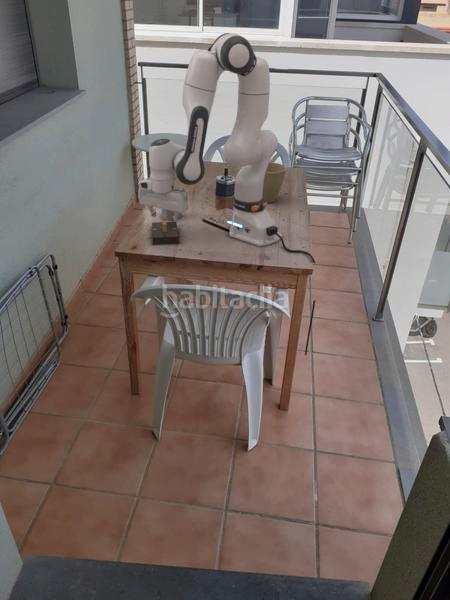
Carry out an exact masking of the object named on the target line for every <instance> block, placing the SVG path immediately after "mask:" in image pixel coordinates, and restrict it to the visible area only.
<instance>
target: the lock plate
mask: <svg viewBox="0 0 450 600" xmlns="http://www.w3.org/2000/svg"><path fill="white" fill-rule="evenodd" d="M166 226H167V232H163V221H158V222H157V221H156V222H151V241H152V245H173V244H174V245H175V244H180V242H179V239H180V238H179V231H178V223H177V221H176V222H173V221H166Z"/></svg>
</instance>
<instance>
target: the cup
mask: <svg viewBox="0 0 450 600" xmlns="http://www.w3.org/2000/svg"><path fill="white" fill-rule="evenodd" d="M174 215H175V214H174V211H169V210H165V209H161V219H166V221H172V217H173V216H174ZM180 218H182V213H179V214H178V216H177V220H179V219H180Z"/></svg>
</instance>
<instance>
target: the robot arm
mask: <svg viewBox="0 0 450 600" xmlns="http://www.w3.org/2000/svg"><path fill="white" fill-rule="evenodd" d="M186 69H187V70H186V73H185V78H184V81H183V86H182V87H183V88H182V106H183V109H184V113H185V115H186V119H187V135H186V140H185V141H186V142H185V145H184V146H183V145H180V144H177V143H175V142H173V141H172V140H171V139H170V138H159V139H156V140H154V141H152V142H151V143H150V145H149V150H148V166H149V169H150V174H149V177H146V178H143V179H142V180H140V181H139V182H138V187H139V188H138V193H137V194H138V196H137V197H138V202H139V204H140V205H143V206H147V209H148V211H149V213H150V217H153V218H155V217H157V211H155V209H154V208H156V209H160V210H162V209H165V210H169V211H174V214H175V215H174V216H173V217H172V220H171V222H177V221H178V219H177V216H178V214H179V213H181V214H185V213H186V212H187V211H188V210H189V203H188V192H187V191H186V189H184V188H182V187H178V186H175V175H176V177H177V179H178V181H179V182H180V183H182V184H184V185H186V186H187V185H188V186H192V185H196V184H197V183H199V182H200V181H202V179H203V178H204V176H205V171H206V170H205V164H204V150H205V144H206V138H207V132H208V125H209V121H210V117H211V112H212V108H213V105H214V100H215V97H216V92H217V87H218V82H219V80H220V77H221V75H222V74H223V73H224V72H225V71H226V72H227V71H228V72H229V73H231V74H232V73H233V74H235V75H236V76H237V79H238V86H237V88H238V89H237V107H236V108H237V110H236V117H235V122H234V125H233V128H232V131H231V133H230V135H229V138H228V139H227V141H226V142H225V143H224V144H223V148H222V156H223V159H224V161H225V162H226V164H228V165H229V166H230V167H233V168H240V169H239V171H238V172H237V173H236V175H235V179H234V196H233V199H232V206H233V211H232V217H231V221H230V220H227V223H228V224H230V225H229V229H228V230H229V232H228V236H229V237H231V238H233V239H237V240H240V241H242V242H245V243H248V244H251V245H254V246H258V247H264V246H269V245H272V244H274V243H277V242H278V241H281V244H282V247H283V248H284V249H285V251H287V252H290V253H303V254H305V255H308V256H309V257H310V259H311V261H312V263H313V264H316V260H315V258H314V256H313V255H312V254H311V253H309V252H308V251H305V250H301V249H294V250H293V249H289V248H288V247H286V245H285V241H284V239H283V234H282V233H281V232H279V231H278V230H279V229H278V227H277V222H276V220H275V219H274V217H273V216H272V215H271V214H270V213H269V212H268V210H267V209H266V206H268V203H267V202H266V203H264V199H263V197H262V195H263V184H264V177H265V174H266V170H267V167H268V165H269V162H271V159H272V157H273V156H274V154H275V153H276V151H277V150H278V146H279V141H278V137H277V135H276V134H275V133H274V132H273V131H272V130H270V129H262V126H264V123H265V121H266V120H267V118H268V116H269V109H270V92H271V78H270V77H271V75H270V66H269V63H268V61H267V60H266V59H265V58H264V57H261V56H258V55H257V56H256V54H255V52H254V49H253V47H252V45H251V42H249V40H248V39H246V38H245V37H244V36H242V35H240V34H238V33H234V32H231V33H230V32H226V33H222V34H221V35H219V36H218V37H217V38H216V39H215V40H214V41H213V43H212V44H211V45H210V46H209V48H207V50H204V49H201V50H197V51H195V52H194V53H193V54H192V55H191V58H190V61H189V63H188V66H187V68H186ZM315 306H316V299H314V300H313V301H312V309H311V315H310V320H309V326H308V331H307V336H306V337H307V338H306V344H305V351H304V356H307V354H308V349H309V341H310V335H311V329H312V324H313V318H314V312H315Z"/></svg>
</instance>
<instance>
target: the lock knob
mask: <svg viewBox="0 0 450 600" xmlns="http://www.w3.org/2000/svg"><path fill="white" fill-rule="evenodd" d="M161 219H162V221H161V222H163V232H167V226H166V222H167V220H166V219H164V218H161Z"/></svg>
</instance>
